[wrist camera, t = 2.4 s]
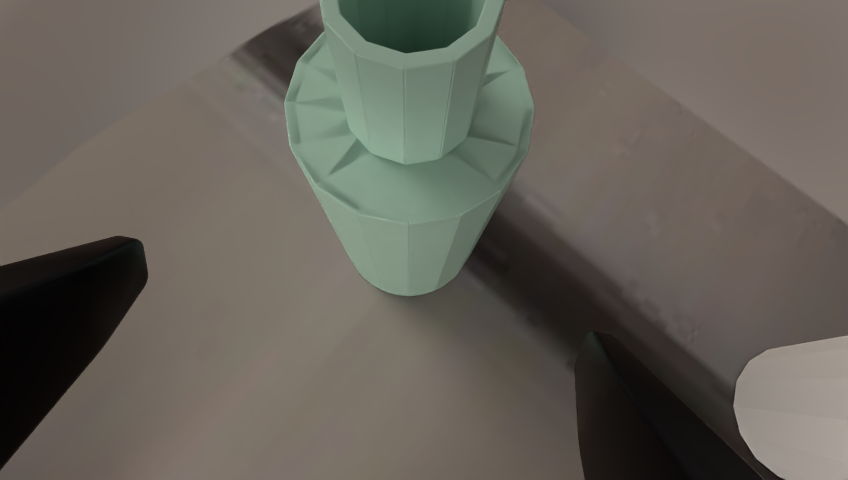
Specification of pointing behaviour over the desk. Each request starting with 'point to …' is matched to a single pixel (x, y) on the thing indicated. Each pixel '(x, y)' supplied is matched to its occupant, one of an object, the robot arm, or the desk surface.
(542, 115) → the desk surface
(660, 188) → the desk surface
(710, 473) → the robot arm
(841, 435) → the shot glass
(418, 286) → the water bottle
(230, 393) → the desk surface
